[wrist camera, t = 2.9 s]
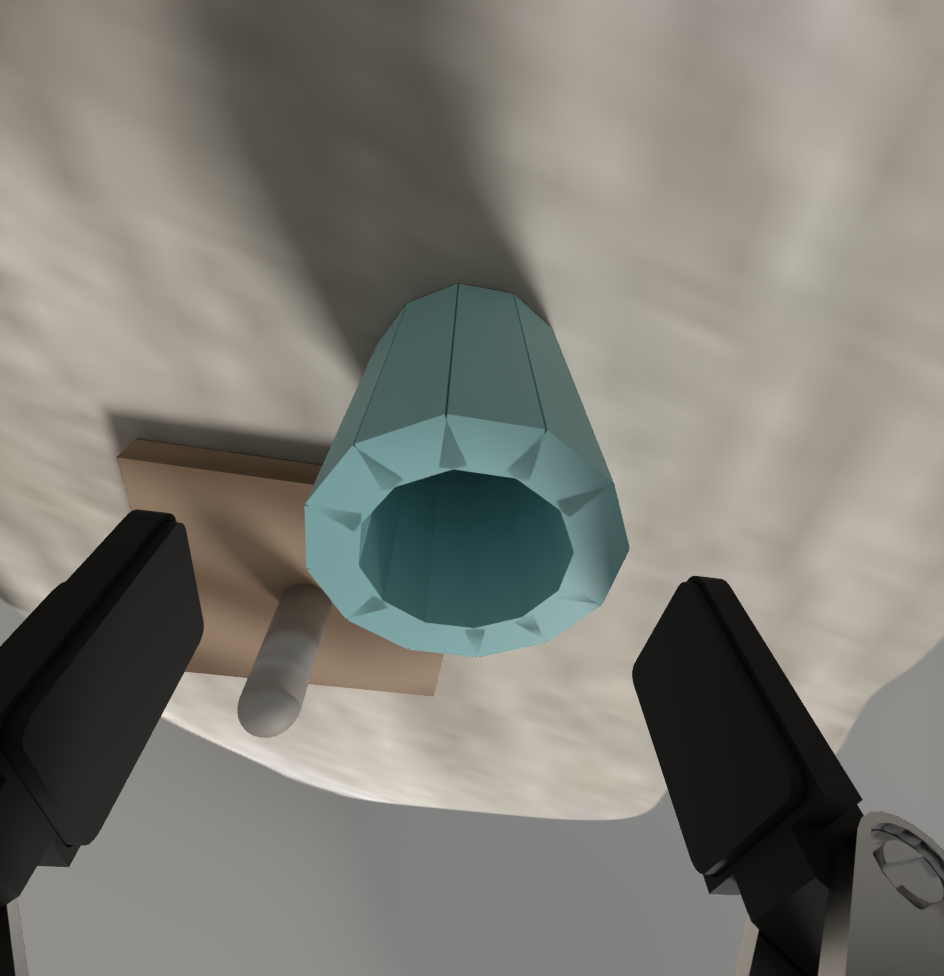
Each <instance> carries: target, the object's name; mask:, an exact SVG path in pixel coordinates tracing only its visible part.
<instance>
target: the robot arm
mask: <svg viewBox="0 0 944 976" xmlns="http://www.w3.org/2000/svg"><path fill="white" fill-rule="evenodd" d="M203 631H204V621H203V616H202V610H201V605H200V600H199V595H198V589H197V584H196V579H195V574H194V568H193V563H192V558H191V553H190V547H189V542H188V537H187V532H186V528H185V525H184V524H183V523H179V522H177V521H176V518H175V516H174V515H173V514H171V513H165V512H156V511H148V510H139V509H136V510H132V511H131V512H130V513H129V514H127V516H126V517H125V518H124V519H123V520H122V521H121V522H120V523H119V524H118V525H117V526H116V528H115V529H114V530H113V531H112V532H111V533H110V534H109V535H108V536H107V537H106V538H105V540H104V541H103V542H102V543H101V544H100V545H99V546H98V547H97V548H96V549H95V550H94V551H93V553H92V554H91V555H90V556H89V557H88V558H87V559H86V560H85V561H84V562H83V563H82V565H81V566H80V567H79V568H78V569H77V570H76V571H75V572H74V573H73V574H72V575H71V577H70V578H69V579H68V580H67V581H66V582H63V583H61V584H60V585H59V586H57V587H56V588H55V589H54V590H53V591H52V592H51V593H50V594H49V595H48V596H47V597H46V598H45V599H44V600H43V601H42V602H41V603H40V604H39V606H38V607H37V608H36V609H35V610H34V611H33V612H32V613H31V614H30V615H29V616H28V617H27V618H26V620H25V621H24V622H23V623H22V624H21V625H20V626H19V627H18V628H17V629H16V630H15V631H14V632H13V633H12V635H11V636H10V637H9V638H8V639H7V640H6V641H5V642H4V643H3V644H2V646H0V976H29V974H28V966H27V959H26V952H25V945H24V937H23V931H22V923H21V916H20V909H19V901H18V897H19V895H20V894H21V892H22V891H23V889H24V887H25V885H26V884H27V882H28V880H29V878H30V877H31V875H32V874H33V872H34V870H35V868H36V867H37V866H56V867H69V866H70V864H71V862H72V860H73V859H74V857H75V855H76V853H77V851H78V849H79V848H80V846H81V845H88V844H90V843H91V842H92V841H93V840H94V838H95V837H96V836H97V835H98V833H99V831H100V830H101V828H102V826H103V824H104V822H105V820H106V818H107V817H108V815H109V813H110V811H111V809H112V807H113V805H114V804H115V802H116V799H117V798H118V796H119V794H120V792H121V790H122V788H123V786H124V785H125V783H126V781H127V779H128V777H129V775H130V773H131V772H132V770H133V768H134V766H135V764H136V762H137V760H138V758H139V756H140V755H141V753H142V751H143V749H144V747H145V745H146V743H147V741H148V739H149V738H150V736H151V734H152V732H153V730H154V728H155V726H156V724H157V722H158V721H159V719H160V717H161V715H162V713H163V711H164V709H165V707H166V706H167V704H168V702H169V700H170V698H171V696H172V694H173V692H174V691H175V689H176V687H177V685H178V683H179V681H180V679H181V677H182V675H183V674H184V672H185V670H186V668H187V666H188V664H189V662H190V660H191V659H192V657H193V655H194V653H195V651H196V649H197V647H198V645H199V643H200V641H201V638H202V635H203ZM632 678H633V683H634V687H635V690H636V693H637V696H638V699H639V702H640V705H641V708H642V711H643V714H644V717H645V720H646V723H647V727H648V730H649V733H650V736H651V739H652V742H653V745H654V748H655V751H656V754H657V757H658V760H659V763H660V766H661V769H662V773H663V776H664V779H665V782H666V785H667V788H668V791H669V794H670V797H671V800H672V803H673V806H674V809H675V812H676V815H677V818H678V821H679V825H680V828H681V831H682V834H683V837H684V840H685V843H686V846H687V849H688V852H689V855H690V858H691V861H692V863H693V865H694V867H695V868H696V870H697V871H698V872H699V873H701V874H703V876H704V879H705V882H706V885H707V888H708V891H709V894H725V895H740V894H741V896H742V899H743V901H744V904H745V907H746V909H747V912H748V916H747V921H746V925H745V929H744V933H743V938H742V942H741V946H740V950H739V954H738V958H737V963H736V967H735V971H734V975H733V976H944V850H943V849H942V848H941V847H940V846H939V845H938V844H937V843H936V842H935V841H934V840H933V839H932V838H931V837H929V836H928V835H927V834H925V833H924V832H923V831H921V830H920V829H919V828H917V827H916V826H915V825H913V824H911V823H910V822H908V821H906V820H904V819H902V818H900V817H899V816H896V815H892V814H889V813H886V812H883V811H880V812H869V813H868V814H866V815H865V816H864V815H863V814H862V812H861V810H860V809H859V807H858V805H857V804H858V803H859V802H860V801H862V798H861V796H860V795H859V793H858V792H857V790H856V788H855V787H854V785H853V783H852V782H851V780H850V779H849V777H848V775H847V774H846V772H845V771H844V769H843V767H842V766H841V764H840V763H839V761H838V759H837V758H836V756H835V754H834V753H833V751H832V750H831V748H830V746H829V745H828V743H827V742H826V740H825V738H824V737H823V735H822V734H821V732H820V730H819V729H818V727H817V726H816V724H815V722H814V721H813V719H812V717H811V716H810V714H809V713H808V711H807V709H806V708H805V706H804V705H803V703H802V701H801V700H800V698H799V697H798V695H797V693H796V692H795V690H794V688H793V687H792V685H791V684H790V682H789V680H788V679H787V677H786V676H785V674H784V672H783V671H782V669H781V668H780V666H779V664H778V663H777V661H776V660H775V658H774V656H773V655H772V653H771V651H770V650H769V648H768V647H767V645H766V643H765V642H764V640H763V639H762V637H761V635H760V634H759V632H758V631H757V629H756V627H755V626H754V624H753V623H752V621H751V619H750V618H749V616H748V614H747V613H746V611H745V610H744V608H743V606H742V605H741V603H740V602H739V600H738V598H737V597H736V595H735V594H734V592H733V590H732V589H731V587H730V585H729V584H728V583H727V582H726V581H725V580H723V579H717V578H709V577H701V576H692V577H690V578H689V579H688V581H687V582H683V583H681V584H680V585H679V586H678V588H677V590H676V592H675V593H674V595H673V597H672V599H671V600H670V602H669V604H668V606H667V607H666V609H665V611H664V613H663V614H662V616H661V618H660V620H659V621H658V623H657V625H656V627H655V628H654V630H653V632H652V634H651V636H650V637H649V639H648V641H647V643H646V644H645V646H644V648H643V650H642V651H641V653H640V655H639V657H638V658H637V660H636V662H635V664H634V666H633V671H632Z"/></svg>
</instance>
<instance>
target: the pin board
mask: <svg viewBox="0 0 944 976" xmlns="http://www.w3.org/2000/svg"><path fill="white" fill-rule="evenodd" d="M117 461H118V464H119V468H120V471H121V475H122V478H123V481H124V485H125V488H126V492H127V495H128V498H129V502H130V505H131V509H132V510H136V509H139V510H148V511H156V512H165V513H171V514H173V515H174V516H175V518H176V521H177V522H179V523H183V524H184V525H185V528H186V532H187V537H188V542H189V547H190V553H191V558H192V563H193V568H194V574H195V579H196V584H197V589H198V595H199V600H200V605H201V610H202V616H203V621H204V631H203V635H202V638H201V641H200V643H199V645H198V647H197V649H196V651H195V653H194V655H193V657H192V659H191V660H190V662H189V664H188V666H187V668H186V670H185V672H194V673H204V674H214V675H224V676H234V677H244V678H248V679H247V682H246V684H245V686H244V689H243V691H242V694H241V696H240V699H239V702H238V718H239V721H240V723H241V725H242V726H243V728H244V729H245V730H246V731H247V732H248V733H250V734H252V735H254V736H257V737H262V738H269V737H273V736H277V735H279V734H281V733H283V732H284V731H286V730H287V729H288V728H289V727H290V726H291V725H292V724H293V723H294V722H295V720H296V719H297V717H298V715H299V713H300V710H301V706H302V703H303V700H304V696H305V693H306V690H307V686H308V684H315V685H325V686H335V687H345V688H355V689H365V690H375V691H385V692H395V693H405V694H415V695H425V696H434V693H435V688H436V684H437V680H438V675H439V671H440V667H441V662H442V658H443V653H434V652H425V651H415V650H409V648H408V649H406V648H403V647H401V646H399V645H397V644H395V643H393V642H391V641H389V640H387V639H385V638H383V637H381V636H379V635H377V634H375V633H373V632H371V631H369V630H367V629H364V628H362V627H360V626H358V625H356V624H354V623H352V622H350V621H348V620H347V619H345V617H344V616H343V615H342V614H341V612H340V611H339V610H338V608H337V607H336V606H335V605H334V603H333V602H332V601H331V600H330V598H329V597H328V596H327V595H326V593H325V592H324V591H323V589H322V588H321V587H320V586H319V584H318V583H317V582H316V581H315V579H314V578H313V577H312V575H311V574H310V573H309V572H308V570H307V568H306V541H305V509H304V506H305V503H306V501H307V498H308V496H309V494H310V492H311V490H312V487H313V485H314V483H315V481H316V478H317V476H318V474H319V472H320V470H321V467H322V465H315V464H308V463H301V462H294V461H287V460H280V459H273V458H266V457H259V456H252V455H245V454H238V453H231V452H224V451H217V450H210V449H204V448H197V447H190V446H183V445H176V444H169V443H162V442H155V441H148V440H141V439H136V440H135V441H134V442H133V443H132V444H131V445H130V446H128V447H127V448H126V449H125V450H124V451H123V452H122V453H121V454H120V455H119V456H118V457H117Z"/></svg>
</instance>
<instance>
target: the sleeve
mask: <svg viewBox="0 0 944 976" xmlns="http://www.w3.org/2000/svg"><path fill="white" fill-rule="evenodd" d="M304 509H305V541H306V568H307V570H308V572H309V573H310V574H311V575H312V577H313V578H314V579H315V581H316V582H317V583H318V584H319V586H320V587H321V588H322V589H323V591H324V592H325V593H326V595H327V596H328V597H329V598H330V600H331V601H332V602H333V603H334V605H335V606H336V607H337V608H338V610H339V611H340V612H341V614H342V615H343V616H344V617H345V619H347V620H348V621H350V622H352V623H354V624H356V625H358V626H360V627H362V628H364V629H367V630H369V631H371V632H373V633H375V634H377V635H379V636H381V637H383V638H385V639H387V640H389V641H391V642H393V643H395V644H397V645H399V646H401V647H403V648H406V649H408V648H409V650H415V651H425V652H434V653H443V654H452V655H461V656H471V657H478V656H479V657H482V656H487V655H491V654H496V653H500V652H505V651H509V650H514V649H519V648H523V647H528V646H532V645H537V644H541V643H546V641H547V642H548V641H549V640H551V639H552V638H554V637H555V636H557V635H558V634H560V633H561V632H563V631H564V630H566V629H567V628H569V627H570V626H572V625H573V624H575V623H576V622H578V621H579V620H581V619H582V618H584V617H585V616H586V615H588V614H589V613H591V612H592V611H594V610H595V609H597V608H598V607H600V606H601V604H603V602H604V600H605V598H606V596H607V594H608V592H609V590H610V588H611V586H612V584H613V582H614V580H615V578H616V575H617V573H618V571H619V569H620V567H621V565H622V563H623V561H624V559H625V557H626V555H627V553H628V551H629V544H628V539H627V535H626V531H625V527H624V523H623V519H622V515H621V510H620V506H619V502H618V498H617V494H616V490H615V486H614V483H613V480H612V477H611V475H610V472H609V470H608V467H607V465H606V462H605V460H604V457H603V455H602V452H601V450H600V447H599V445H598V442H597V440H596V437H595V435H594V432H593V430H592V427H591V425H590V422H589V420H588V417H587V414H586V412H585V409H584V407H583V404H582V402H581V399H580V397H579V394H578V392H577V389H576V387H575V384H574V382H573V379H572V377H571V374H570V372H569V369H568V367H567V364H566V362H565V359H564V357H563V354H562V351H561V349H560V346H559V344H558V341H557V339H556V336H555V334H554V331H553V329H552V328H551V327H550V326H549V325H548V324H547V323H545V322H544V321H543V320H542V319H541V318H540V317H539V316H538V315H537V314H536V313H534V312H533V311H532V310H531V309H530V308H529V307H528V306H527V305H526V304H525V303H523V302H522V301H521V300H520V299H519V298H518V297H517V296H516V295H515V294H514V295H513V293H508V292H503V291H498V290H492V289H487V288H481V287H476V286H470V285H465V284H460V283H459V286H458V284H455V285H453V286H450V287H448V288H445V289H442V290H440V291H437V292H435V293H432V294H429V295H427V296H424V297H422V298H419V299H417V300H414V301H411V302H409V303H408V304H406V305H405V307H404V308H403V309H402V311H401V312H400V313H399V315H398V316H397V317H396V319H395V320H394V322H393V323H392V324H391V326H390V327H389V328H388V330H387V331H386V332H385V334H384V335H383V336H382V338H381V339H380V341H379V342H378V343H377V345H376V347H375V349H374V352H373V354H372V356H371V358H370V361H369V363H368V365H367V367H366V369H365V372H364V374H363V376H362V378H361V381H360V383H359V385H358V387H357V389H356V392H355V394H354V396H353V398H352V401H351V403H350V405H349V407H348V409H347V412H346V414H345V416H344V418H343V421H342V423H341V425H340V427H339V430H338V432H337V434H336V436H335V438H334V441H333V443H332V445H331V447H330V450H329V452H328V454H327V456H326V458H325V461H324V463H323V465H322V467H321V470H320V472H319V474H318V476H317V478H316V481H315V483H314V485H313V487H312V490H311V492H310V494H309V496H308V498H307V501H306V503H305V506H304Z"/></svg>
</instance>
